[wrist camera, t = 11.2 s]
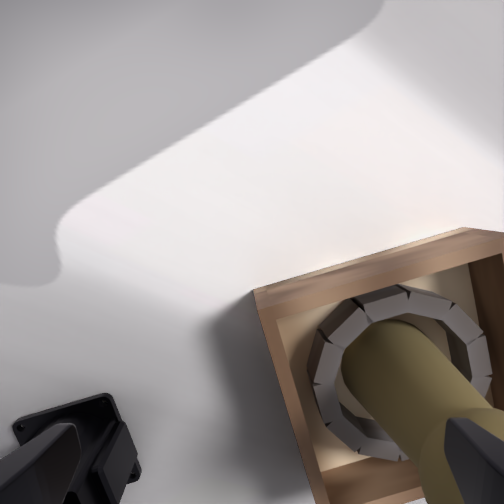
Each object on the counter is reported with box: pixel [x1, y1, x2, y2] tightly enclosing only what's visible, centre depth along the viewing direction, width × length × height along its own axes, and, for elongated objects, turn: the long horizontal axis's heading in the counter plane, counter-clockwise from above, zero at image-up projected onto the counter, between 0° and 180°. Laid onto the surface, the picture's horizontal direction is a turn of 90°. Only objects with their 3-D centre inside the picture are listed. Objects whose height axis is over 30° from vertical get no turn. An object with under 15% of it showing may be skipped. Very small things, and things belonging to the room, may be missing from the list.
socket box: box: [253, 227, 504, 504], centre depth 21 cm, size 14×14×4 cm
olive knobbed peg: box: [341, 319, 504, 504], centre depth 17 cm, size 6×6×11 cm
